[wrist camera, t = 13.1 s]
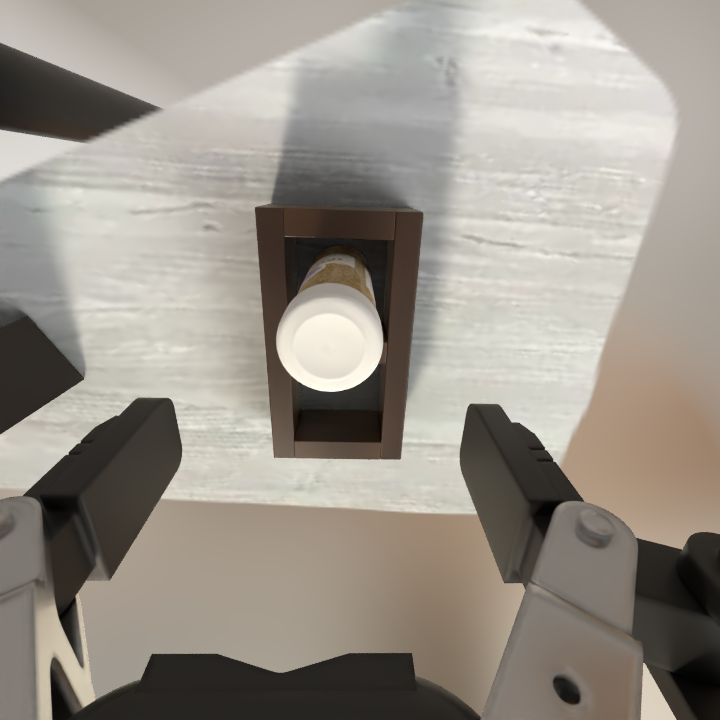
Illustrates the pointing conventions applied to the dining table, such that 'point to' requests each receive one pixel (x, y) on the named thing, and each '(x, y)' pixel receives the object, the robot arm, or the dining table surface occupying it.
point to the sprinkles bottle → (332, 324)
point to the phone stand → (29, 372)
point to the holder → (403, 231)
